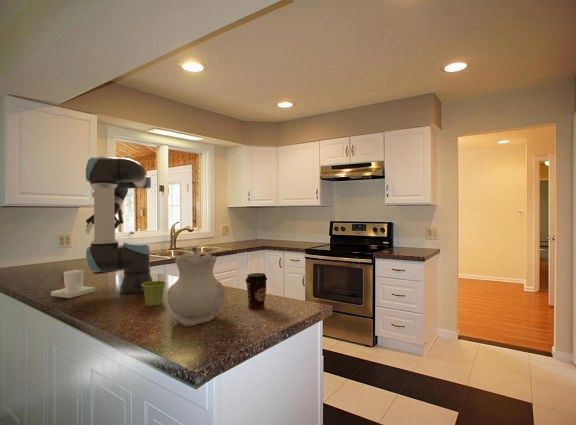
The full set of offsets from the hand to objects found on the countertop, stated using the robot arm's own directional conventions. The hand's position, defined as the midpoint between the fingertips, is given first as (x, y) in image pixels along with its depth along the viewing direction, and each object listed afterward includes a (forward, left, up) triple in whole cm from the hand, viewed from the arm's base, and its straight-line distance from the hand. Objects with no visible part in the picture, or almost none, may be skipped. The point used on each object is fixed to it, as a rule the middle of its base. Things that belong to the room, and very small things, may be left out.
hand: (99, 232), depth 181 cm
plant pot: (-60, +25, -28) cm, 71 cm away
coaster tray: (-9, +22, -28) cm, 36 cm away
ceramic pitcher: (-88, +35, -28) cm, 99 cm away
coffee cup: (-103, +17, -28) cm, 108 cm away
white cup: (-9, +22, -27) cm, 36 cm away
